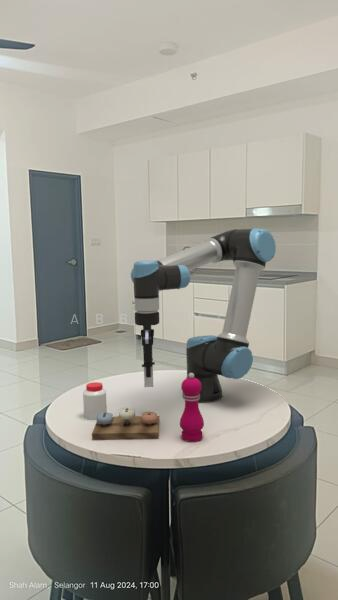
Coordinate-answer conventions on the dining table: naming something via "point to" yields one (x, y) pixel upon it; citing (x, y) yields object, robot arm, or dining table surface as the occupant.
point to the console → (126, 430)
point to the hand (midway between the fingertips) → (148, 386)
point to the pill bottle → (94, 400)
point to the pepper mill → (191, 410)
